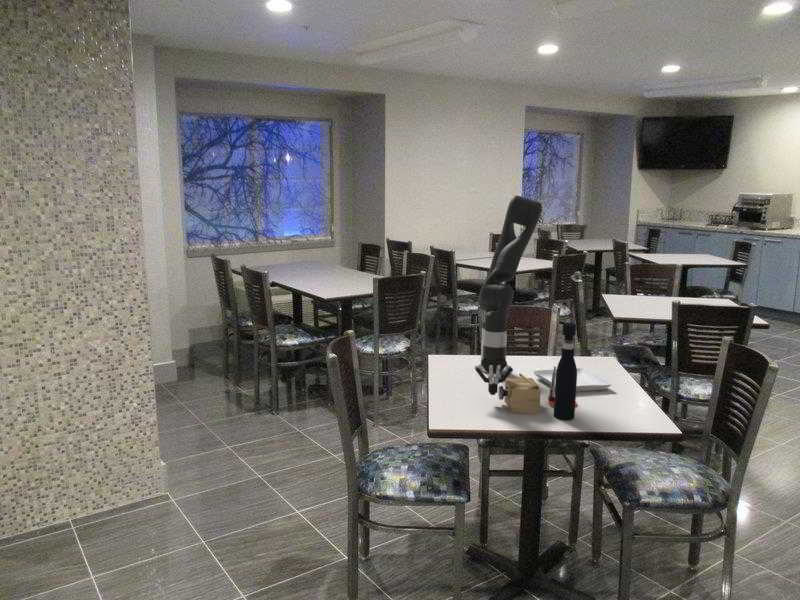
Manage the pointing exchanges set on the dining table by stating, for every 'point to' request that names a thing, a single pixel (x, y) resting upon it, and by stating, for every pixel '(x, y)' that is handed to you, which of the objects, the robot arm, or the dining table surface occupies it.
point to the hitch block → (522, 396)
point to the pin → (502, 392)
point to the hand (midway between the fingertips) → (492, 394)
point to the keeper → (527, 379)
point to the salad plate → (578, 380)
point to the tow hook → (552, 390)
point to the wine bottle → (566, 377)
